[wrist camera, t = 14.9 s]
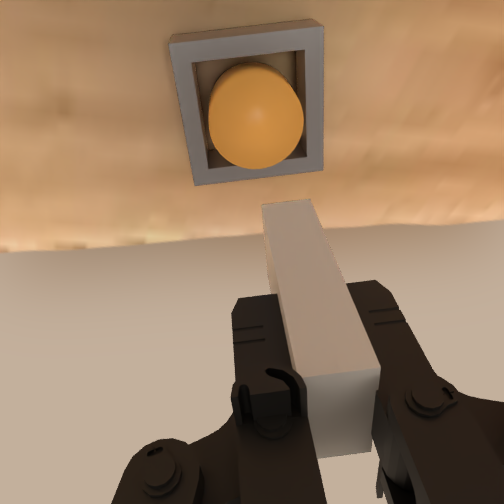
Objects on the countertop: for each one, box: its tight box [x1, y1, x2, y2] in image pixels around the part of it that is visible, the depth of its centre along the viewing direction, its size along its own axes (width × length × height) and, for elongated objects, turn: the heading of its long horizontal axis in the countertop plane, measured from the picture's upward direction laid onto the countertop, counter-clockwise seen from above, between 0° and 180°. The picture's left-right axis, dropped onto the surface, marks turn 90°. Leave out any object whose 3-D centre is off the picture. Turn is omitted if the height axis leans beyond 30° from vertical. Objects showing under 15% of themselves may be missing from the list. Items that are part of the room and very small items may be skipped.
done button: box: [209, 62, 304, 169], centre depth 24 cm, size 5×5×3 cm
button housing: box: [168, 19, 324, 186], centre depth 25 cm, size 8×8×3 cm
